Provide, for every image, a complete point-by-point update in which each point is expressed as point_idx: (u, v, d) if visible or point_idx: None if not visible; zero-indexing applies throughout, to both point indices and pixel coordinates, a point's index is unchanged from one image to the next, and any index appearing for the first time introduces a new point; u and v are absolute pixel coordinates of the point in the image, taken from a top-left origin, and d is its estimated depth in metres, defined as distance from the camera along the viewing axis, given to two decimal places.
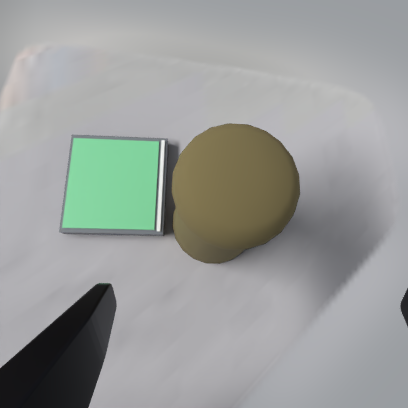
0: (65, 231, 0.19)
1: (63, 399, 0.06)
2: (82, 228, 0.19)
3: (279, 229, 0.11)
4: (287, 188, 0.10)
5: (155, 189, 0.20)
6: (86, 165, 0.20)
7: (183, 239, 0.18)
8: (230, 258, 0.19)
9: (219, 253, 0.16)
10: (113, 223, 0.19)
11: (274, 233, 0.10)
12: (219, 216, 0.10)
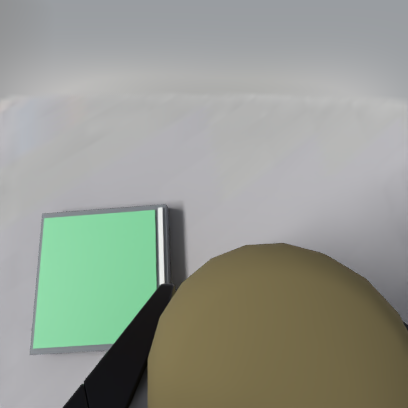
0: (38, 352, 0.14)
1: None
2: (60, 346, 0.14)
3: None
4: None
5: (154, 279, 0.14)
6: (62, 253, 0.15)
7: None
8: None
9: None
10: (101, 335, 0.14)
11: None
12: None
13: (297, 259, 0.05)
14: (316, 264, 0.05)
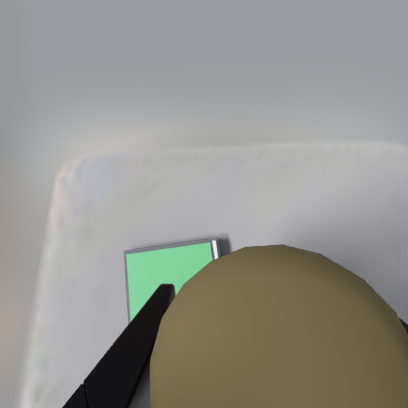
0: None
1: (149, 401, 0.06)
2: None
3: None
4: None
5: None
6: (143, 280, 0.20)
7: None
8: None
9: None
10: None
11: None
12: None
13: (294, 261, 0.05)
14: (313, 265, 0.05)
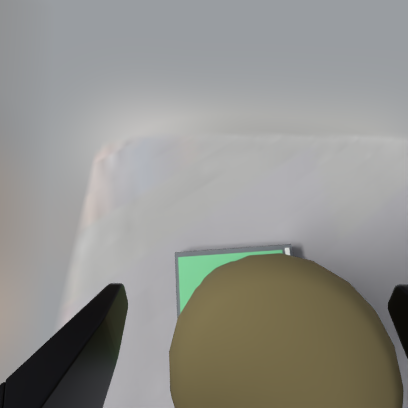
0: None
1: (79, 399, 0.06)
2: None
3: None
4: (386, 405, 0.05)
5: None
6: None
7: None
8: None
9: None
10: None
11: None
12: None
13: (291, 268, 0.06)
14: (307, 272, 0.06)
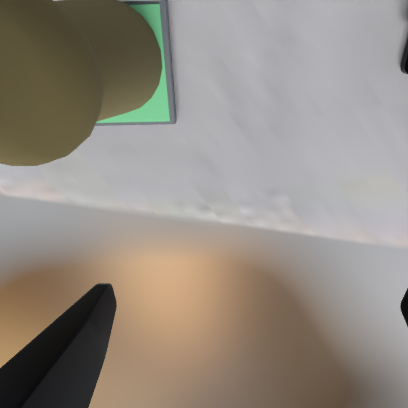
0: (173, 117, 0.18)
1: (63, 399, 0.06)
2: (168, 99, 0.18)
3: (37, 12, 0.07)
4: None
5: None
6: None
7: (132, 106, 0.15)
8: (149, 35, 0.15)
9: (136, 63, 0.13)
10: None
11: (47, 21, 0.07)
12: (43, 116, 0.07)
13: None
14: None
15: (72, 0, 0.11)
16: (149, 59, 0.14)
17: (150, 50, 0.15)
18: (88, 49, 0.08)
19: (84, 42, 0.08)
